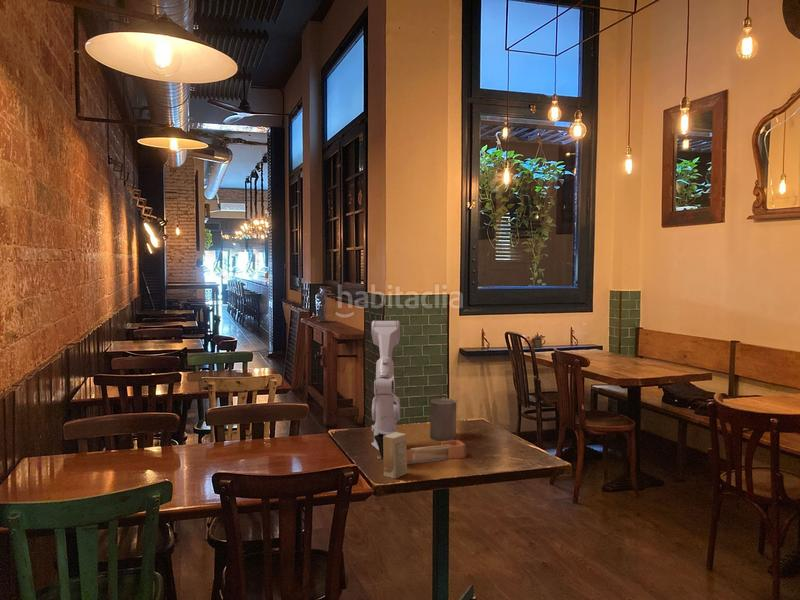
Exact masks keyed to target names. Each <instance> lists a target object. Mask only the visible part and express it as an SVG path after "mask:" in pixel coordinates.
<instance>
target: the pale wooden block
mask: <svg viewBox="0 0 800 600" xmlns="http://www.w3.org/2000/svg"><path fill="white" fill-rule="evenodd" d="M448 446H452V445H450V444H446V445H441V444H438V445H431V446H422V447H413V448H410V450H412V461H413V460H423V459H433V458H443V457H448Z"/></svg>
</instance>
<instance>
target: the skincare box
mask: <svg viewBox="0 0 800 600" xmlns="http://www.w3.org/2000/svg"><path fill="white" fill-rule="evenodd" d="M407 445H408V444H407V433H403V432H398V431H397V432H394V433H391V434H388V435H385V436H383V459H382V460H383V477H385V476H386V478H389V477H390V478H389V479H393V478H394V480H395V479H398V478H400V477H402V476H404V475H407V474H408V464H407V450H408V449H407Z"/></svg>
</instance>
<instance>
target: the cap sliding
mask: <svg viewBox="0 0 800 600" xmlns="http://www.w3.org/2000/svg"><path fill="white" fill-rule="evenodd" d="M407 461H413V459H412V450H411V449H407Z"/></svg>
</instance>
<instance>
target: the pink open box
mask: <svg viewBox="0 0 800 600" xmlns="http://www.w3.org/2000/svg"><path fill="white" fill-rule="evenodd" d="M446 444H450V445H452V446H448V460H451V459H452V458H454V459H461V458H462V459H463V458H467V444H465V443H464V442H462V441H460V440H458V439H453V440H447V441H441V440H440V445H446Z"/></svg>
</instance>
